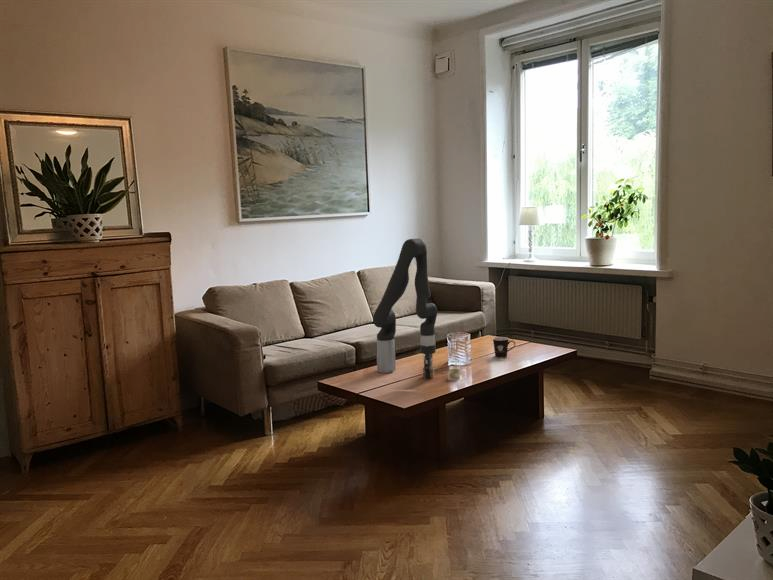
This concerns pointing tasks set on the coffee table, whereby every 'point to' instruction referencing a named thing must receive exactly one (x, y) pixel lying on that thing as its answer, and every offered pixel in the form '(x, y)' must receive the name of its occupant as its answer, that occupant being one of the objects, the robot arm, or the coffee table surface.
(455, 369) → the birch base cube
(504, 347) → the coffee mug
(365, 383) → the coffee table surface
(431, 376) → the walnut cube
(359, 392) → the coffee table surface
